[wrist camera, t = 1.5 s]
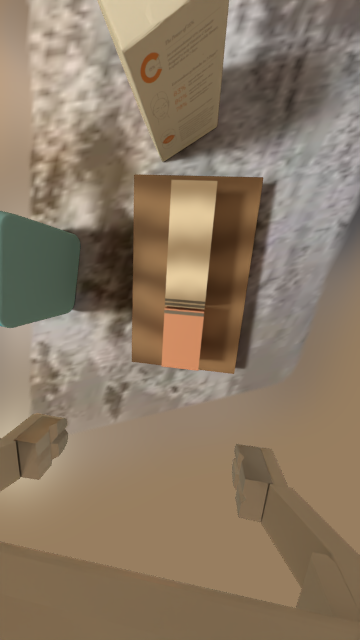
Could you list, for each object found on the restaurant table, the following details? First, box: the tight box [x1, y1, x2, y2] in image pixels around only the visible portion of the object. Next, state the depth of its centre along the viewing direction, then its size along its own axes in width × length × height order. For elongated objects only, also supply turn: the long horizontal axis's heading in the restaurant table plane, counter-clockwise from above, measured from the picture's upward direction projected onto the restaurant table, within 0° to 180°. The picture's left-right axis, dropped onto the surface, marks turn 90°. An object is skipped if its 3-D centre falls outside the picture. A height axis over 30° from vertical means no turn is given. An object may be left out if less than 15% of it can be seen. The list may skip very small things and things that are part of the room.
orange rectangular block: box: [162, 306, 204, 370], centre depth 26 cm, size 8×5×4 cm, turn 176°
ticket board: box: [132, 175, 263, 374], centre depth 26 cm, size 26×16×6 cm, turn 176°
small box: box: [98, 0, 229, 162], centre depth 18 cm, size 8×6×13 cm
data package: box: [0, 211, 80, 328], centre depth 25 cm, size 12×4×12 cm, turn 166°
